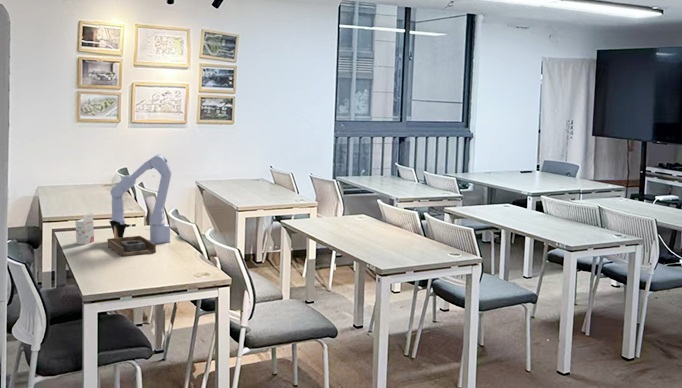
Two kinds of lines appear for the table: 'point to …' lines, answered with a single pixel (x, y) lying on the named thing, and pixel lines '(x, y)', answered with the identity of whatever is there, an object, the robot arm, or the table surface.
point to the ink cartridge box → (85, 230)
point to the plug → (115, 232)
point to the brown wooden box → (131, 246)
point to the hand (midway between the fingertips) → (118, 236)
